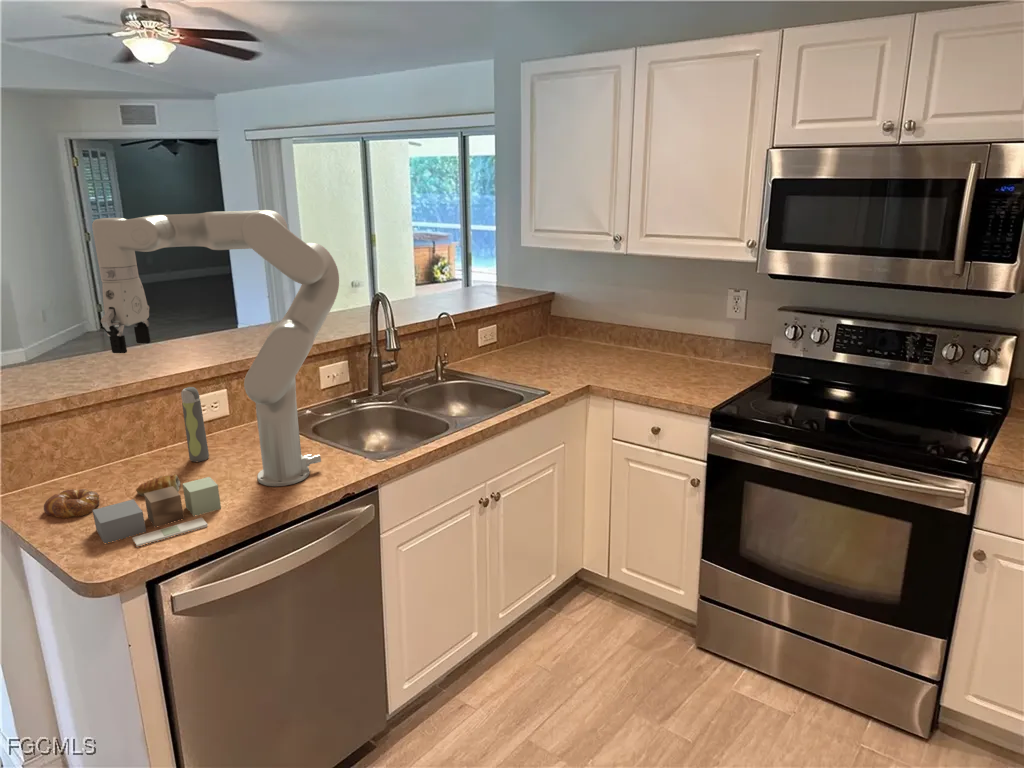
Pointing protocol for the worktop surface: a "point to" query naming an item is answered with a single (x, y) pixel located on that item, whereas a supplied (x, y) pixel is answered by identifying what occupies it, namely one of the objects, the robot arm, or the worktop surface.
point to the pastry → (159, 484)
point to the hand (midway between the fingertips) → (132, 347)
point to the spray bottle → (194, 425)
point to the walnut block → (164, 506)
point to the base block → (119, 521)
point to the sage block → (201, 496)
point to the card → (169, 531)
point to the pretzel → (71, 503)
